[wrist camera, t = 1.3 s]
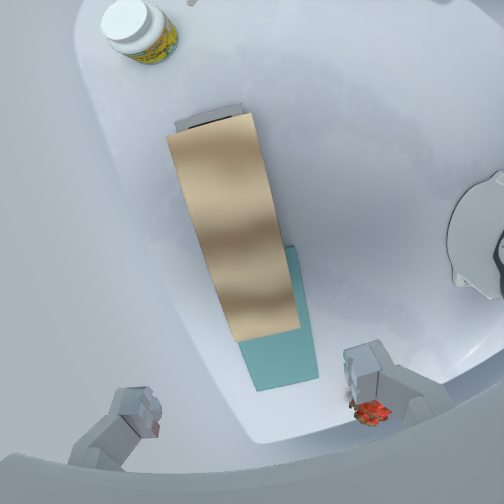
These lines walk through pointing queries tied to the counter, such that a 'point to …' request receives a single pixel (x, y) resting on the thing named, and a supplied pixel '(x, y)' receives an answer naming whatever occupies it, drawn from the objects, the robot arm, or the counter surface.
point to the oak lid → (236, 224)
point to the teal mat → (283, 344)
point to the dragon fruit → (370, 412)
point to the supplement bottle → (139, 31)
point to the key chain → (191, 2)
